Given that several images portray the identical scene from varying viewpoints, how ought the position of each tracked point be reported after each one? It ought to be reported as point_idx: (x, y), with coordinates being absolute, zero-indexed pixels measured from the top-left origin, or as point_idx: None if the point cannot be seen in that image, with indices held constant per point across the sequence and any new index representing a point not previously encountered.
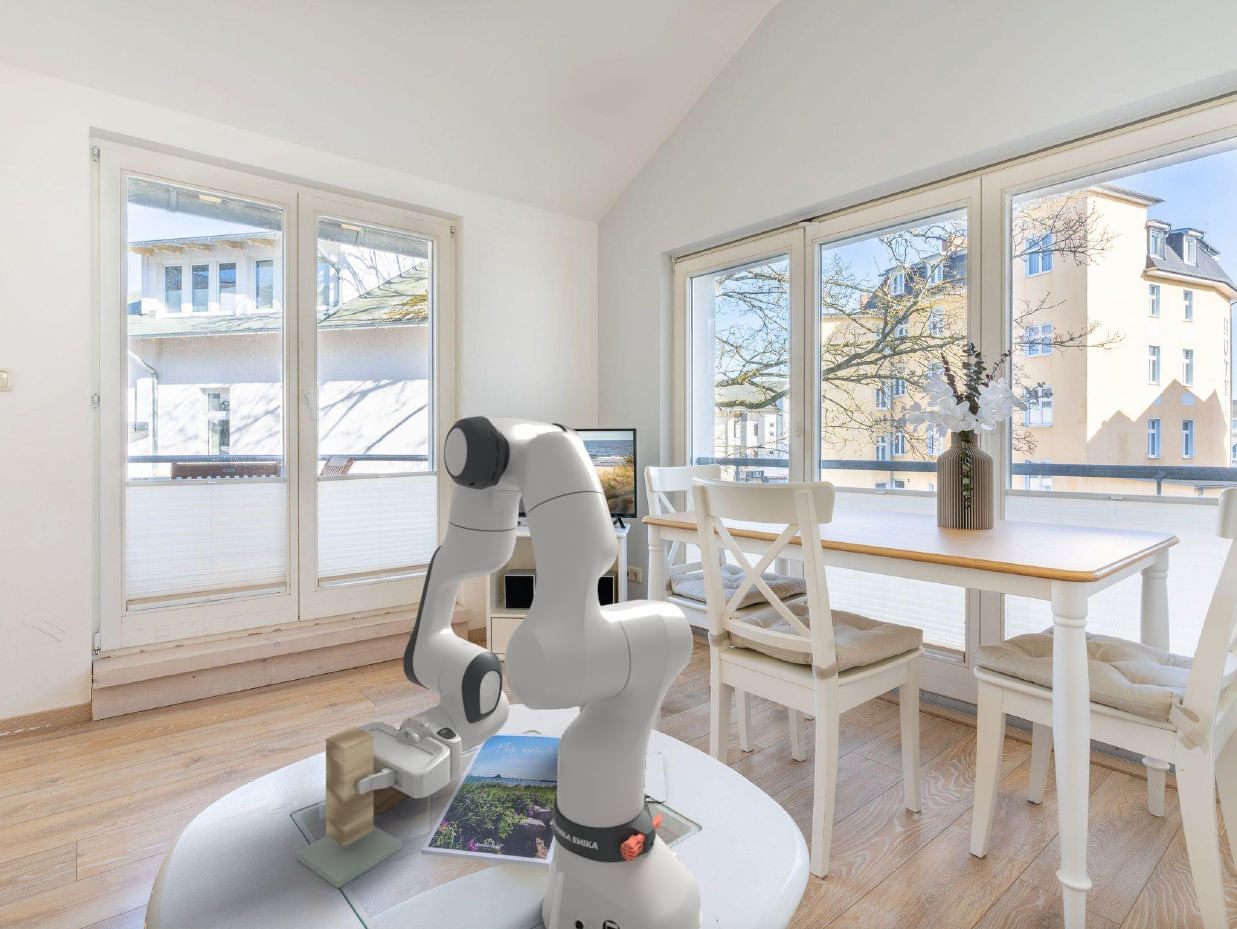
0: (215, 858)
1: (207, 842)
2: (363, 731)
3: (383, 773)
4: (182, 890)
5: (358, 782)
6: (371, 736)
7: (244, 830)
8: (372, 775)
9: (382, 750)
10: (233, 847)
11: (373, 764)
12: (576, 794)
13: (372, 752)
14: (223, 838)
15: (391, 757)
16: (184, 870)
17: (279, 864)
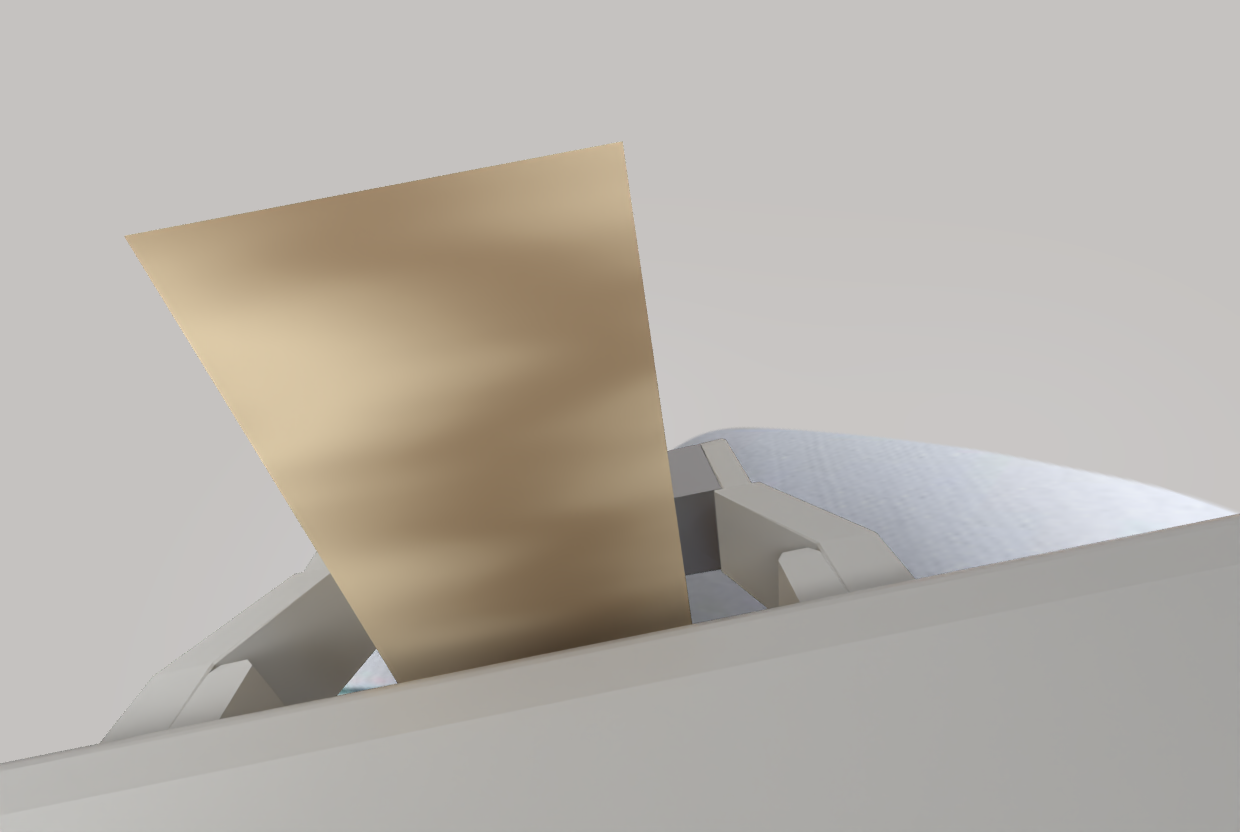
0: (877, 491)
1: (980, 484)
2: (369, 191)
3: (198, 657)
4: (774, 447)
5: None
6: (158, 238)
7: (1029, 555)
8: (304, 580)
9: (448, 816)
10: (919, 523)
11: (335, 580)
12: None
13: (275, 458)
14: (991, 511)
15: (131, 820)
16: (855, 451)
17: (743, 593)
